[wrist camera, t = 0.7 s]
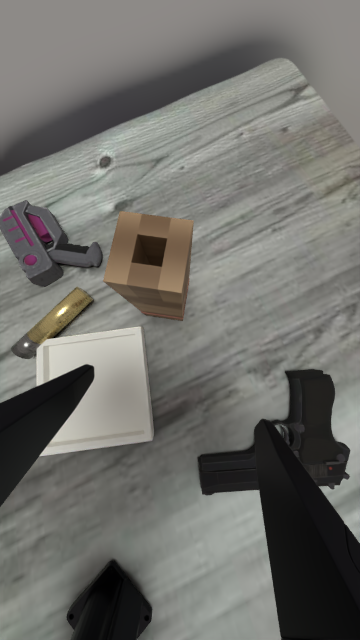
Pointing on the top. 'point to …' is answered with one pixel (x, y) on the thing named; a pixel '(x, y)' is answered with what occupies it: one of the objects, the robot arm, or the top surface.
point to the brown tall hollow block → (151, 263)
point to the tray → (102, 389)
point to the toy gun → (43, 243)
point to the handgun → (288, 441)
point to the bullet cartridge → (52, 323)
